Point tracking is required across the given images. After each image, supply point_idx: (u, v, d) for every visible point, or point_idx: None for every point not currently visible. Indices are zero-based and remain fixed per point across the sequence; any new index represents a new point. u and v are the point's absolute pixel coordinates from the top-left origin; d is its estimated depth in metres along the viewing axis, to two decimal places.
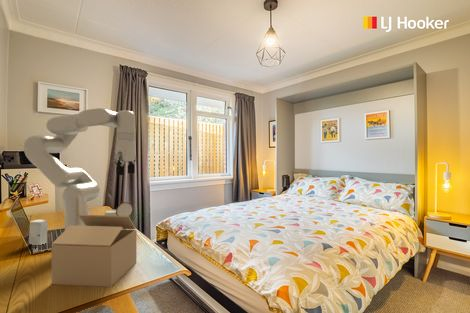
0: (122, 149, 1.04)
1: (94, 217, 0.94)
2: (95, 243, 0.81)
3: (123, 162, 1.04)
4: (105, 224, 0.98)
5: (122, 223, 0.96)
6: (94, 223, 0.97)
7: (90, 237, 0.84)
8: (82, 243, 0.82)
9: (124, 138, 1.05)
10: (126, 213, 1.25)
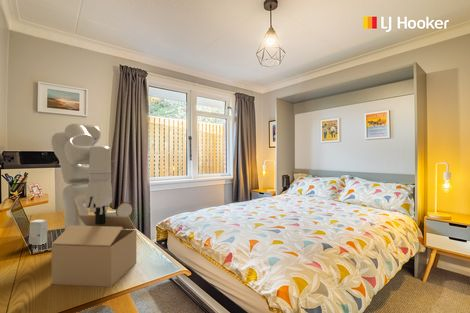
0: (94, 193, 0.87)
1: (94, 217, 0.94)
2: (95, 243, 0.81)
3: (101, 209, 0.90)
4: (105, 224, 0.97)
5: (122, 223, 0.96)
6: (94, 223, 0.97)
7: (90, 237, 0.84)
8: (82, 243, 0.82)
9: (97, 180, 0.88)
10: (126, 213, 1.25)
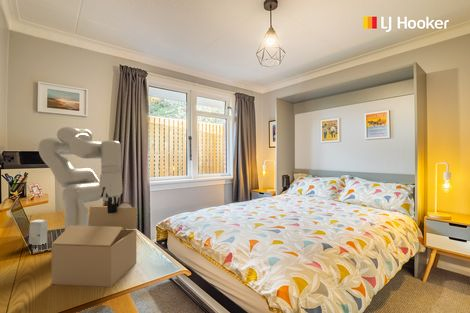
0: (106, 184, 0.94)
1: (104, 209, 1.01)
2: (95, 243, 0.81)
3: (113, 199, 0.97)
4: (108, 221, 1.00)
5: (126, 218, 1.00)
6: (98, 219, 1.00)
7: (90, 237, 0.84)
8: (82, 243, 0.82)
9: (109, 171, 0.95)
10: None
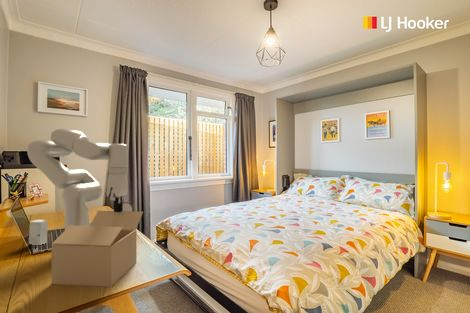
0: (114, 185, 1.00)
1: (110, 212, 1.06)
2: (95, 243, 0.81)
3: (119, 199, 1.03)
4: (111, 222, 1.02)
5: (129, 220, 1.02)
6: (102, 220, 1.03)
7: (90, 237, 0.84)
8: (82, 243, 0.82)
9: (116, 173, 1.01)
10: None
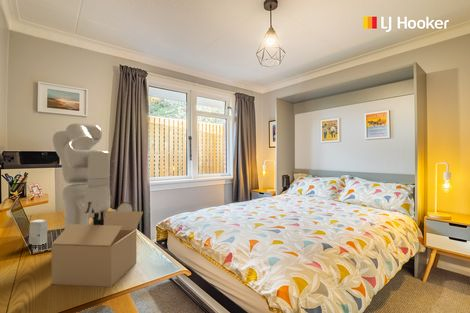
0: (93, 199, 0.86)
1: (110, 212, 1.06)
2: (95, 243, 0.81)
3: (99, 214, 0.89)
4: (111, 222, 1.02)
5: (129, 220, 1.02)
6: None
7: (89, 236, 0.84)
8: (82, 243, 0.82)
9: (96, 185, 0.87)
10: None
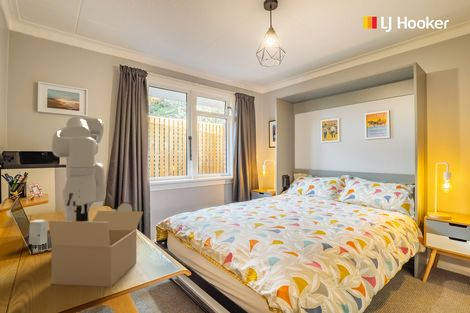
0: (74, 190, 0.77)
1: (110, 212, 1.06)
2: (93, 245, 0.81)
3: (83, 207, 0.80)
4: (111, 222, 1.02)
5: (129, 220, 1.02)
6: (102, 220, 1.03)
7: (82, 237, 0.80)
8: (81, 244, 0.81)
9: (78, 174, 0.78)
10: None
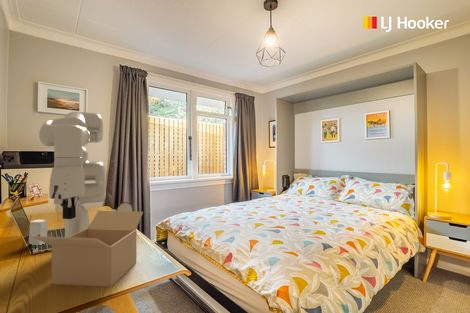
0: (60, 182, 0.71)
1: (110, 212, 1.06)
2: (93, 246, 0.80)
3: (69, 201, 0.75)
4: (111, 222, 1.02)
5: (129, 220, 1.02)
6: (102, 220, 1.03)
7: (78, 244, 0.78)
8: (80, 246, 0.81)
9: (63, 165, 0.72)
10: None
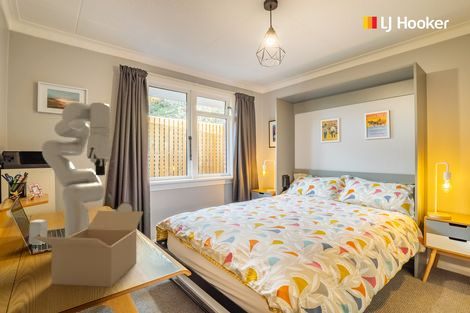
0: (95, 145, 0.94)
1: (110, 212, 1.06)
2: (93, 246, 0.80)
3: (101, 161, 0.98)
4: (111, 222, 1.02)
5: (129, 220, 1.02)
6: (102, 220, 1.03)
7: (78, 244, 0.78)
8: (80, 246, 0.81)
9: (97, 133, 0.95)
10: None
